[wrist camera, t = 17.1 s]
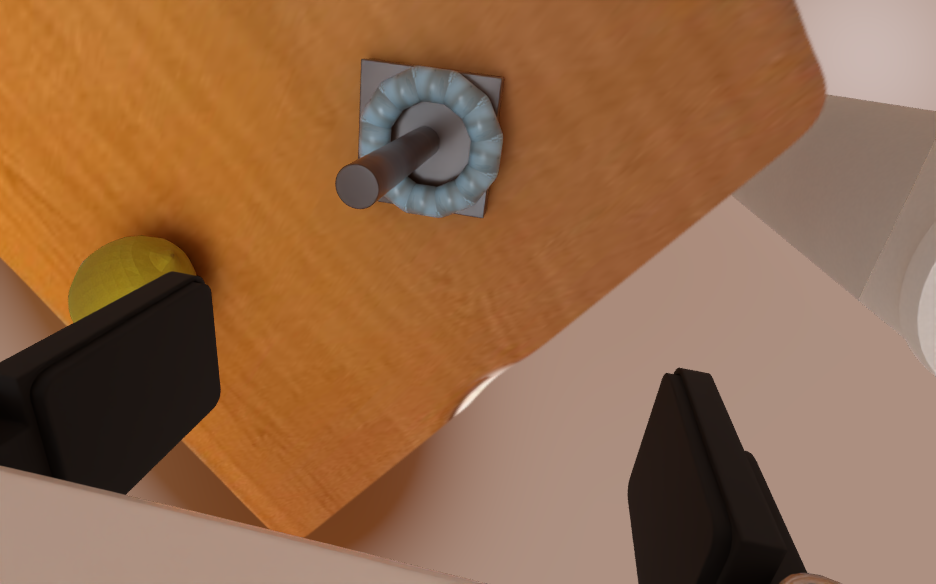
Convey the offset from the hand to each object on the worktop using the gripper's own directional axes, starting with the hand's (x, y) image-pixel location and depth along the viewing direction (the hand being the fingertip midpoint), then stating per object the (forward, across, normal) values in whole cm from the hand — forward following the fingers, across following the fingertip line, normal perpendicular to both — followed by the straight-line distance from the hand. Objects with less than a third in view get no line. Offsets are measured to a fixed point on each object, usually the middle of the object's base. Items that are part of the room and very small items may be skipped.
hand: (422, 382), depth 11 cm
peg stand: (+28, +7, 0) cm, 28 cm away
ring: (+25, +6, 0) cm, 26 cm away
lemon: (+27, +28, +14) cm, 41 cm away
